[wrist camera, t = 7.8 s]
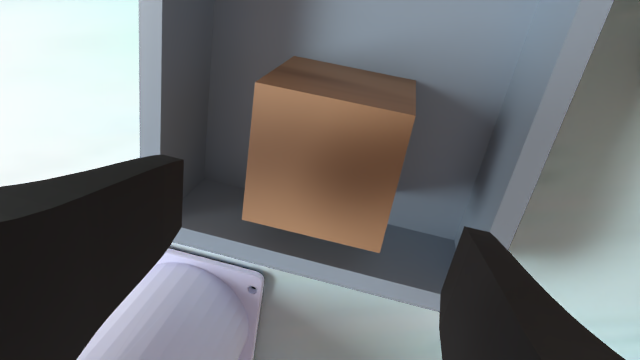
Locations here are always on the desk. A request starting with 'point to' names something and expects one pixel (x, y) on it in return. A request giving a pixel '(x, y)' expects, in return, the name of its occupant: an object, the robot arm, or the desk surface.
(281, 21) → the tote
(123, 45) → the desk surface
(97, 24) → the desk surface
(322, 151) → the walnut cube
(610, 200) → the desk surface
